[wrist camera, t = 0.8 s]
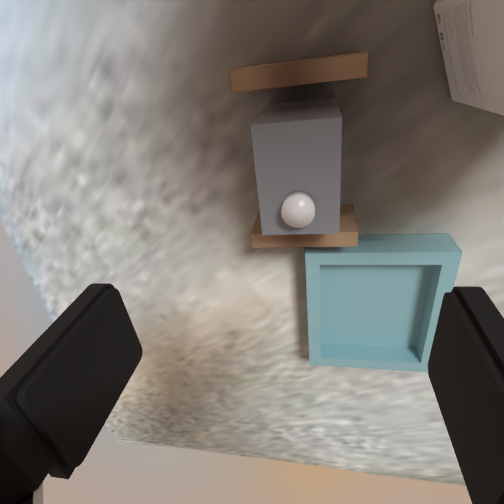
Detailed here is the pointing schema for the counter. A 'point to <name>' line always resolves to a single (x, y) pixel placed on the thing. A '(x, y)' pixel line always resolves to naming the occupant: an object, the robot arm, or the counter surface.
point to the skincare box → (473, 51)
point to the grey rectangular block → (298, 166)
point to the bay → (299, 75)
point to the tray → (378, 300)
